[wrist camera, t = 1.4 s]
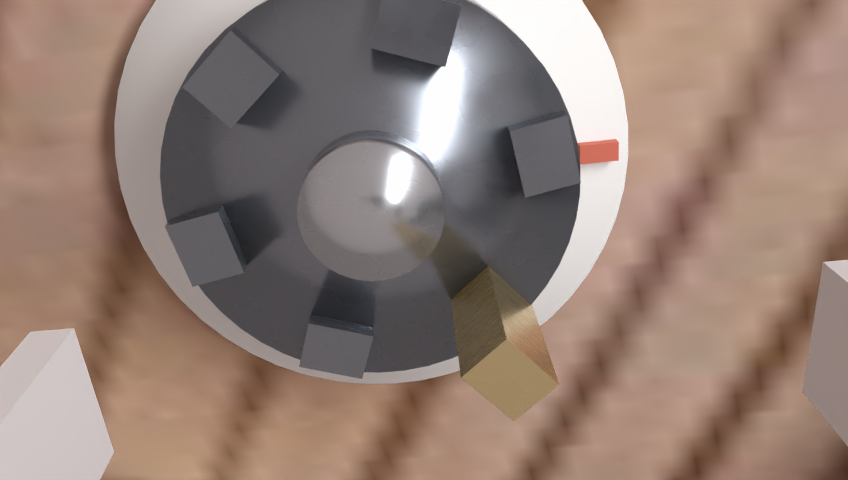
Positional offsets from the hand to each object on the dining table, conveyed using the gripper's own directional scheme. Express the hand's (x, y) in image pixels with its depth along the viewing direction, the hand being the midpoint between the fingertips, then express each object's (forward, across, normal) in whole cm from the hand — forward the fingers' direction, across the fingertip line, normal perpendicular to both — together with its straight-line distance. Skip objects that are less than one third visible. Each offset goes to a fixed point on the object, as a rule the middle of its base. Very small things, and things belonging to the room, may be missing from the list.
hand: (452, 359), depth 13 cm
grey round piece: (+22, -2, -4) cm, 22 cm away
